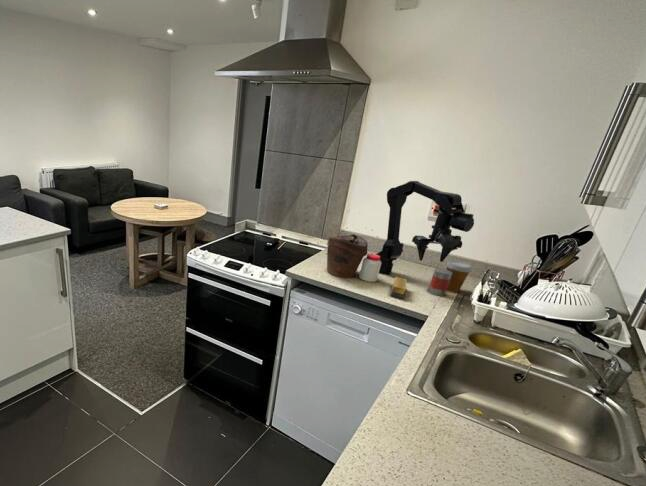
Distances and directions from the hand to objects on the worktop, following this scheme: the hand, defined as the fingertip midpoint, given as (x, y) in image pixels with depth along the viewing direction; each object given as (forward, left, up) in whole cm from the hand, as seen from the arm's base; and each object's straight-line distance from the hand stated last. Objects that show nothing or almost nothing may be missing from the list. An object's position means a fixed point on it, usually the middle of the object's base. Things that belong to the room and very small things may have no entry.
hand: (430, 261), depth 166 cm
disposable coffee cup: (+12, +9, -13) cm, 20 cm away
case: (-34, -2, -13) cm, 37 cm away
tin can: (+6, 0, -13) cm, 14 cm away
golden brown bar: (-9, -11, -13) cm, 20 cm away
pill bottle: (-22, -2, -13) cm, 26 cm away
